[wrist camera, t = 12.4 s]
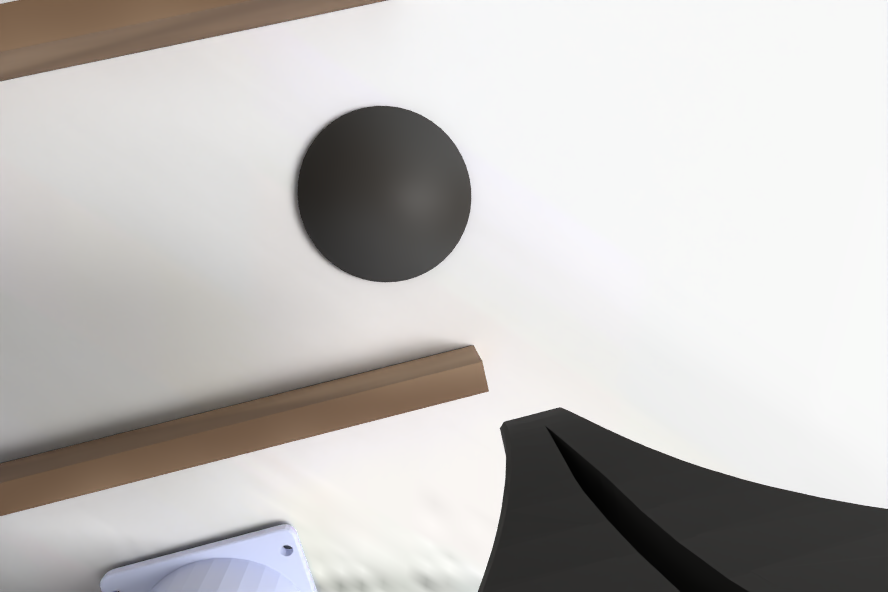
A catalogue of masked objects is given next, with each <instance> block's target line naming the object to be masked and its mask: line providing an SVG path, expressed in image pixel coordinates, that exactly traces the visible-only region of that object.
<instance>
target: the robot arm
mask: <svg viewBox="0 0 888 592" xmlns="http://www.w3.org/2000/svg"><path fill="white" fill-rule="evenodd" d="M500 430H501V435H502V440H503V444H504V449H505V453H506V478H505V487H504V495H503V502H502V509H501V514H500V519H499V524H498V529H497V533H496V537H495V541H494V544H493V548H492V552H491V555H490V558H489V561H488V564H487V567H486V570H485V573H484V576H483V579H482V582H481V585H480V587H479V590H478V592H888V509H884V508H877V507H870V506H864V505H858V504H853V503H847V502H842V501H836V500H831V499H825V498H820V497H815V496H811V495H806V494H802V493H797V492H793V491H788V490H784V489H779V488H775V487H770V486H766V485H762V484H758V483H754V482H751V481H747V480H743V479H740V478H736V477H733V476H730V475H726V474H723V473H719V472H716V471H713V470H709V469H706V468H703V467H700V466H697V465H694V464H691V463H688V462H685V461H682V460H680V459H677V458H674V457H672V456H669V455H666V454H664V453H661V452H659V451H656V450H653V449H651V448H648V447H646V446H644V445H641V444H639V443H636V442H634V441H632V440H629V439H627V438H625V437H623V436H620V435H618V434H616V433H614V432H612V431H610V430H607V429H605V428H603V427H601V426H599V425H597V424H595V423H593V422H591V421H589V420H587V419H584V418H582V417H580V416H578V415H576V414H574V413H572V412H570V411H568V410H565V409H563V408H556V409H552V410H548V411H544V412H540V413H536V414H533V415H529V416H525V417H521V418H517V419H513V420H509V421H506V422H504V423H503V424H502V426H501V427H500ZM284 545H289V546H291V547H292V549H285V548H284V547H283V546H284ZM100 589H101V591H102V592H117V591H120V592H317V590H316V587H315V584H314V581H313V578H312V575H311V572H310V569H309V566H308V563H307V560H306V557H305V554H304V551H303V548H302V545H301V543H300V540H299V537H298V534H297V531H296V530H295V528H294V527H292V526H291V525H288V524H283V525H278V526H274V527H270V528H267V529H263V530H259V531H255V532H252V533H248V534H244V535H240V536H236V537H233V538H229V539H225V540H221V541H217V542H214V543H210V544H206V545H202V546H199V547H195V548H191V549H187V550H183V551H180V552H176V553H172V554H168V555H165V556H161V557H157V558H153V559H149V560H146V561H142V562H138V563H134V564H130V565H127V566H123V567H119V568H115V569H112V570H110V571H108V572H107V573H106V574H105V575H104V577H103V578H102V579H101V581H100Z"/></svg>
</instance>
